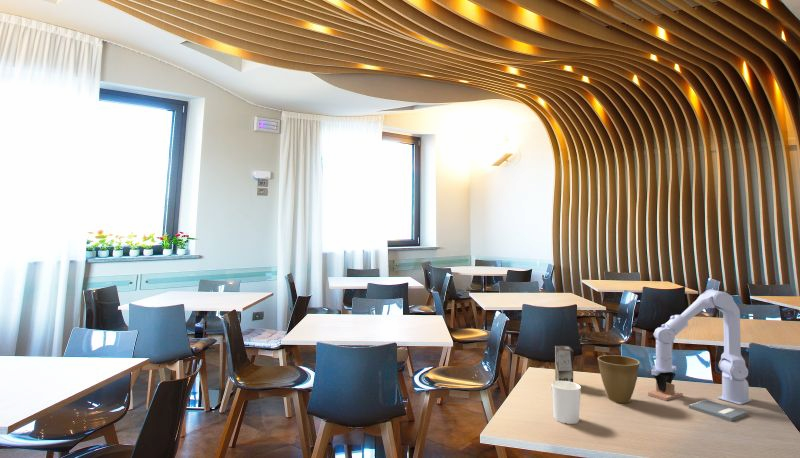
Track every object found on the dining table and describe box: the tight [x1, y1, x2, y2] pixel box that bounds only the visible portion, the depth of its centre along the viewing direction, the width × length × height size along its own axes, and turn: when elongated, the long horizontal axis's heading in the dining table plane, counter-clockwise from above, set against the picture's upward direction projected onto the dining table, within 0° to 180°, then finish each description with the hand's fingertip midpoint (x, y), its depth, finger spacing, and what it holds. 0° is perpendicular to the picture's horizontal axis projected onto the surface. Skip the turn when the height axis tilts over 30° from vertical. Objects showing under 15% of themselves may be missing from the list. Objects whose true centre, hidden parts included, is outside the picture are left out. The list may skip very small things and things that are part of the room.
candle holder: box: [550, 381, 582, 425], centre depth 154 cm, size 10×10×12 cm
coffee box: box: [554, 345, 574, 383], centre depth 192 cm, size 9×6×16 cm
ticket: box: [688, 399, 748, 422], centre depth 162 cm, size 12×14×1 cm
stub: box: [647, 380, 684, 401], centre depth 179 cm, size 12×7×5 cm, turn 119°
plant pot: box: [597, 354, 640, 404], centre depth 173 cm, size 15×15×16 cm
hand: (664, 390), depth 179 cm, fingers closed on stub, 2 cm apart
